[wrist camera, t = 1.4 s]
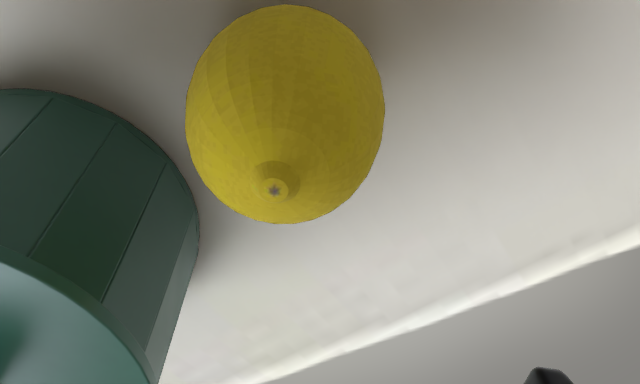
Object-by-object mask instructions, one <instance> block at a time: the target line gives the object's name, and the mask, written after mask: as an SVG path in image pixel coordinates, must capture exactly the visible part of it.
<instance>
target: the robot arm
mask: <svg viewBox="0 0 640 384" xmlns="http://www.w3.org/2000/svg"><path fill="white" fill-rule="evenodd" d="M524 384H573V383H572V381H571V380H570V379H569V378H568V377H567V376H566V375H565V374H564V373H563V372H562V371H560V370H557V369H550V368H543V367H536V368H534V369H533V370H532V371H531V372H530V374H529V376H528V377H527V379H526V381H525V383H524Z"/></svg>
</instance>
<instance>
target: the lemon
mask: <svg viewBox="0 0 640 384" xmlns="http://www.w3.org/2000/svg"><path fill="white" fill-rule="evenodd" d="M384 115H385V103H384V97H383V91H382V85H381V80H380V76H379V73H378V71H377V69H376V67H375V64H374V62H373V60H372V58H371V56H370V54H369V52H368V50H367V48H366V47H365V46H364V45H363V43H362V42H361V41H360V40H359V39H358V37H357V36H356V35H355V34H354V33H353V32H352V30H351V29H349V28H348V27H347V26H345V25H344V24H342V23H341V22H339V21H338V20H337V19H335V18H334V17H332V16H331V15H329V14H326V13H324V12H321V11H318V10H316V9H313V8H310V7H306V6H298V5H289V4H283V5H276V6H269V7H263V8H260V9H257V10H255V11H253V12H250V13H248V14H246V15H243V16H241V17H239V18H237V19H236V20H235V21H233V22H232V23H231V24H230V25H228V26H227V27H226V28H225V29H223V30H222V31H221V32H219V33H218V34H217V35H216V36H215V37H214V38H213V40H212V41H211V43H210V44H209V46H208V47H207V48H206V50H205V51H204V53H203V54H202V56H201V57H200V59H199V60H198V62H197V65H196V67H195V70H194V73H193V76H192V79H191V82H190V85H189V88H188V92H187V96H186V114H185V133H186V139H187V143H188V147H189V151H190V155H191V159H192V162H193V164H194V166H195V168H196V170H197V172H198V173H199V175H200V177H201V179H202V180H203V182H204V184H205V185H206V186H207V187H208V188H209V189H210V190H211V192H212V193H213V194H214V195H215V196H216V197H217V198H218V199H219V200H220V201H221V202H222V203H224V204H225V205H227V206H228V207H230V208H231V209H233V210H234V211H235V212H237V213H239V214H242V215H244V216H247V217H249V218H252V219H254V220H258V221H263V222H268V223H273V224H295V223H300V222H304V221H309V220H313V219H316V218H318V217H320V216H322V215H325V214H327V213H329V212H331V211H333V210H334V209H336V208H337V207H338V206H340V205H341V204H342V203H344V202H345V201H346V200H348V199H349V198H350V197H351V196H352V195H353V193H354V192H355V191H356V190H357V188H358V187H359V186H360V185H361V183H362V182H363V181H364V179H365V178H366V177H367V175H368V173H369V171H370V169H371V166H372V164H373V162H374V159H375V157H376V154H377V152H378V149H379V147H380V143H381V140H382V132H383V123H384Z"/></svg>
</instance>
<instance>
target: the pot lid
mask: <svg viewBox="0 0 640 384" xmlns="http://www.w3.org/2000/svg"><path fill="white" fill-rule="evenodd" d="M0 384H157V380H156V377H155V373H154V370H153V368H152V366H151V364H150V362H149V360H148V358H147V356H146V354H145V352H144V351H143V349H142V348H141V347H140V345H139V344H138V342H137V341H136V339H135V338H134V337H133V335H132V334H131V333H130V332H129V331H128V329H127V328H126V327H125V326H124V325H123V324H122V323H121V322H120V321H119V320H118V319H117V317H116V316H115V315H113V314H112V313H111V312H110V311H109V310H108V309H107V308H105V307H104V306H103V305H102V304H101V303H100V302H99V301H97V300H96V299H95V298H94V297H93V296H91V295H90V294H88V293H87V292H86V291H84V290H83V289H81V288H80V287H79V286H77V285H76V284H74V283H73V282H72V281H70V280H68V279H67V278H65V277H63V276H62V275H60V274H58V273H56V272H55V271H53V270H51V269H50V268H48V267H46V266H44V265H43V264H41V263H39V262H37V261H34V260H32V259H30V258H28V257H26V256H24V255H22V254H20V253H18V252H16V251H13V250H11V249H9V248H6V247H3V246H1V245H0Z"/></svg>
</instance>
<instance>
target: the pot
mask: <svg viewBox="0 0 640 384" xmlns="http://www.w3.org/2000/svg"><path fill="white" fill-rule="evenodd" d="M198 241H199V220H198V214H197V208H196V205H195V203H194V200H193V197H192V194H191V192H190V190H189V188H188V186H187V184H186V182H185V180H184V178H183V176H182V175H181V173H180V172H179V171H178V169H177V168H176V166H175V165H174V163H173V162H172V161H171V160H170V159H169V157H168V156H167V155H166V154H165V153H164V152H163V151H162V149H161V148H159V147H158V146H157V145H156V144H155V143H154V142H153V141H152V140H151V139H150V138H149V137H147V136H146V135H145V134H144V133H142V132H141V131H140V130H138V129H137V128H135V127H134V126H133V125H131V124H130V123H128V122H127V121H125V120H123V119H122V118H120V117H118V116H117V115H115V114H113V113H111V112H109V111H107V110H105V109H103V108H101V107H99V106H96V105H94V104H92V103H89V102H86V101H83V100H81V99H78V98H75V97H72V96H68V95H64V94H59V93H55V92H50V91H43V90H34V89H4V90H0V245H1V246H3V247H6V248H9V249H11V250H13V251H16V252H18V253H20V254H22V255H24V256H26V257H28V258H30V259H32V260H34V261H37V262H39V263H41V264H43V265H44V266H46V267H48V268H50V269H51V270H53V271H55V272H56V273H58V274H60V275H62V276H63V277H65V278H67V279H68V280H70V281H72V282H73V283H74V284H76V285H77V286H79V287H80V288H81V289H83V290H84V291H86V292H87V293H88V294H90V295H91V296H93V297H94V298H95V299H96V300H97V301H99V302H100V303H101V304H102V305H103V306H104V307H105V308H107V309H108V310H109V311H110V312H111V313H112V314H113V315H115V316H116V317H117V319H118V320H119V321H120V322H121V323H122V324H123V325H124V326H125V327H126V328H127V329H128V331H129V332H130V333H131V334H132V335H133V337H134V338H135V339H136V341H137V342H138V344H139V345H140V347H141V348H142V349H143V351H144V352H145V354H146V356H147V358H148V360H149V362H150V364H151V366H152V368H153V370H154V373H155V377H156V380H157V384H158V382H159V379H160V376H161V372H162V369H163V366H164V363H165V359H166V356H167V353H168V349H169V346H170V343H171V340H172V336H173V333H174V330H175V327H176V323H177V320H178V317H179V314H180V310H181V307H182V304H183V300H184V297H185V294H186V291H187V287H188V284H189V281H190V278H191V274H192V271H193V268H194V265H195V261H196V258H197V255H198Z"/></svg>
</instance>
